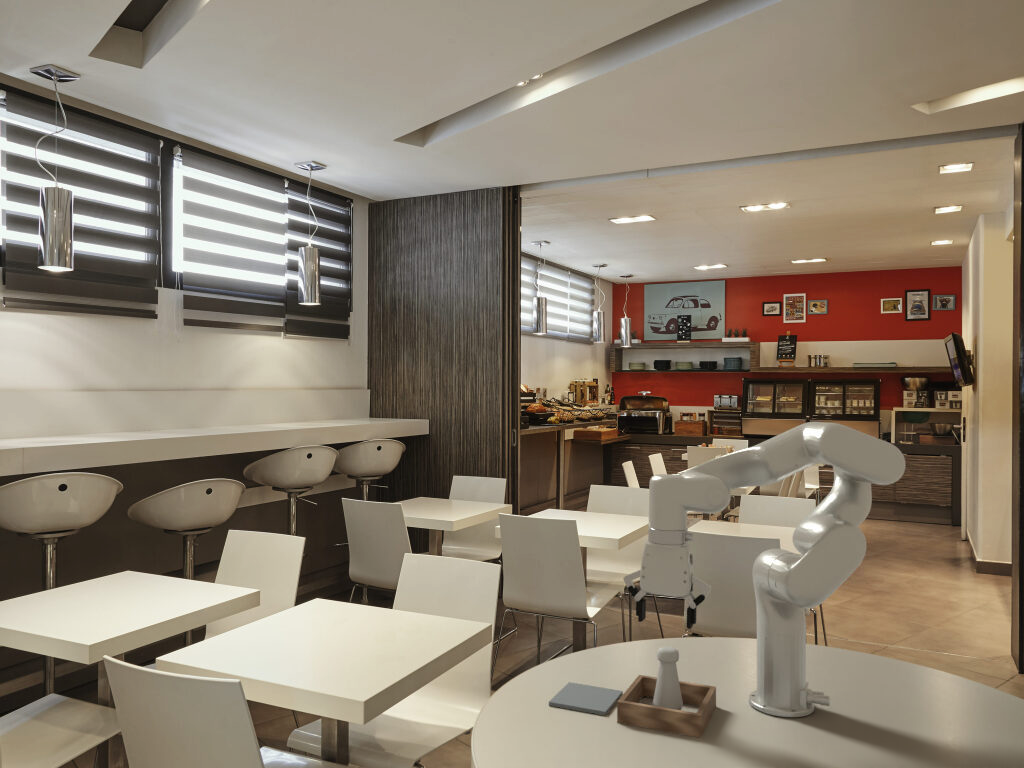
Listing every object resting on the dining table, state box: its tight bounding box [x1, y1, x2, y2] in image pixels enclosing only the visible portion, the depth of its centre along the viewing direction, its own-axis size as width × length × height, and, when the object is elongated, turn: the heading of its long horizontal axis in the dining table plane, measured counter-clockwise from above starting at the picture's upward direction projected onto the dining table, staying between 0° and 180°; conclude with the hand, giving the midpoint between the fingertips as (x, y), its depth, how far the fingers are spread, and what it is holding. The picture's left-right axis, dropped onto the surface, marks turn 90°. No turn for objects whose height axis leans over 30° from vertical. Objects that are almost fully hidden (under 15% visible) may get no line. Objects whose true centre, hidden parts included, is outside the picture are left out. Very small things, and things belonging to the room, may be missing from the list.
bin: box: [616, 674, 717, 739], centre depth 154 cm, size 16×16×4 cm
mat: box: [548, 681, 624, 717], centre depth 161 cm, size 12×12×1 cm
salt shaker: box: [652, 646, 684, 710], centre depth 155 cm, size 6×6×13 cm
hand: (665, 623), depth 155 cm, fingers open, 9 cm apart
